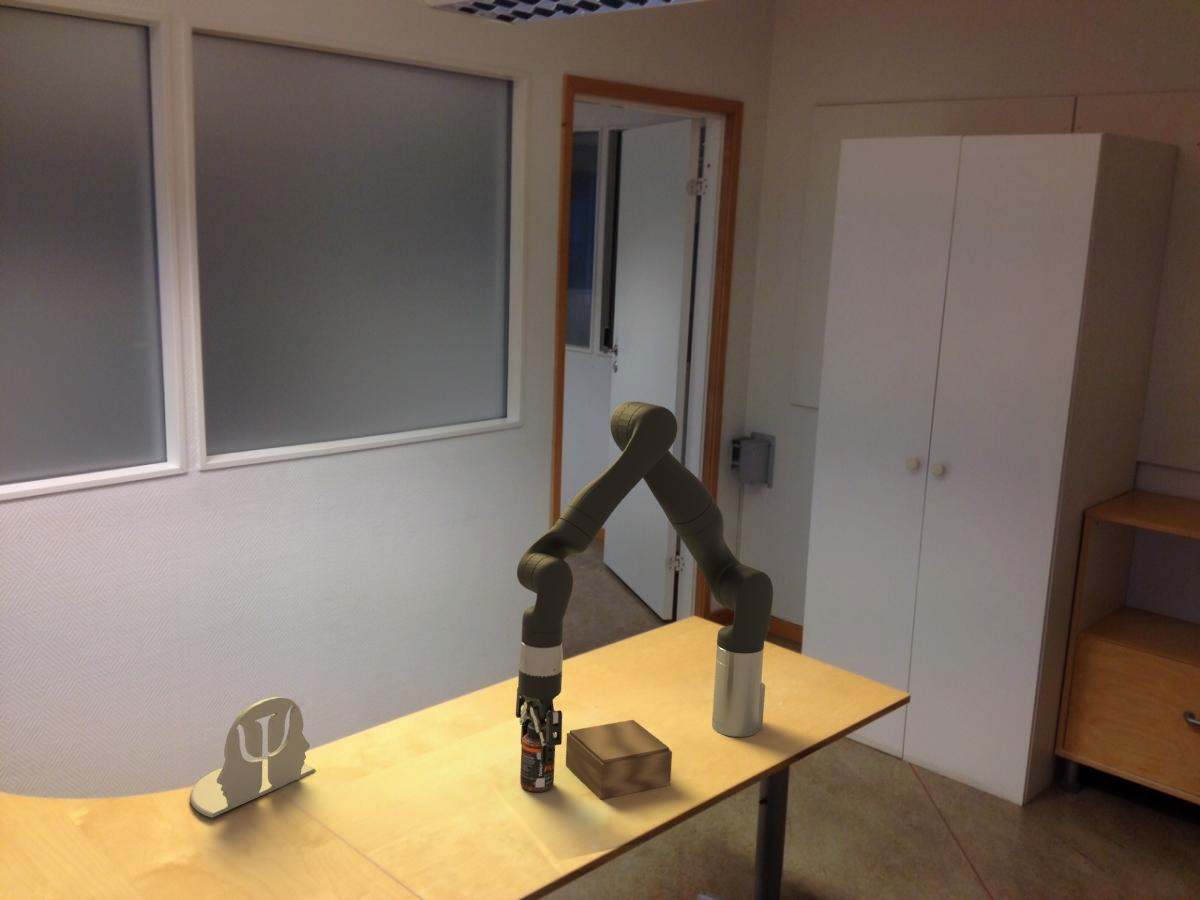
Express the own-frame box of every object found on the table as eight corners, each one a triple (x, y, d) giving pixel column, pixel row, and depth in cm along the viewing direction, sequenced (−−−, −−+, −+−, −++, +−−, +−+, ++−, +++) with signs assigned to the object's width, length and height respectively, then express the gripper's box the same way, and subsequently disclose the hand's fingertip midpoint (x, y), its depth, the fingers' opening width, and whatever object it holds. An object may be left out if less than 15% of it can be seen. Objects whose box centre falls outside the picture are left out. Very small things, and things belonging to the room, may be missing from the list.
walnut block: (632, 753, 210) (633, 718, 209) (670, 785, 198) (672, 748, 197) (565, 766, 204) (567, 730, 203) (600, 799, 192) (602, 761, 190)
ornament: (211, 818, 180) (210, 721, 177) (162, 793, 187) (160, 699, 185) (317, 771, 198) (317, 682, 195) (269, 750, 205) (268, 664, 203)
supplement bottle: (549, 795, 192) (551, 734, 190) (515, 791, 193) (517, 729, 192) (557, 780, 198) (559, 720, 196) (525, 776, 199) (527, 716, 197)
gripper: (578, 677, 188) (573, 768, 190) (543, 650, 200) (539, 735, 203) (537, 683, 184) (533, 775, 187) (504, 655, 197) (501, 742, 199)
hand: (536, 754), depth 195 cm, fingers open, 8 cm apart
